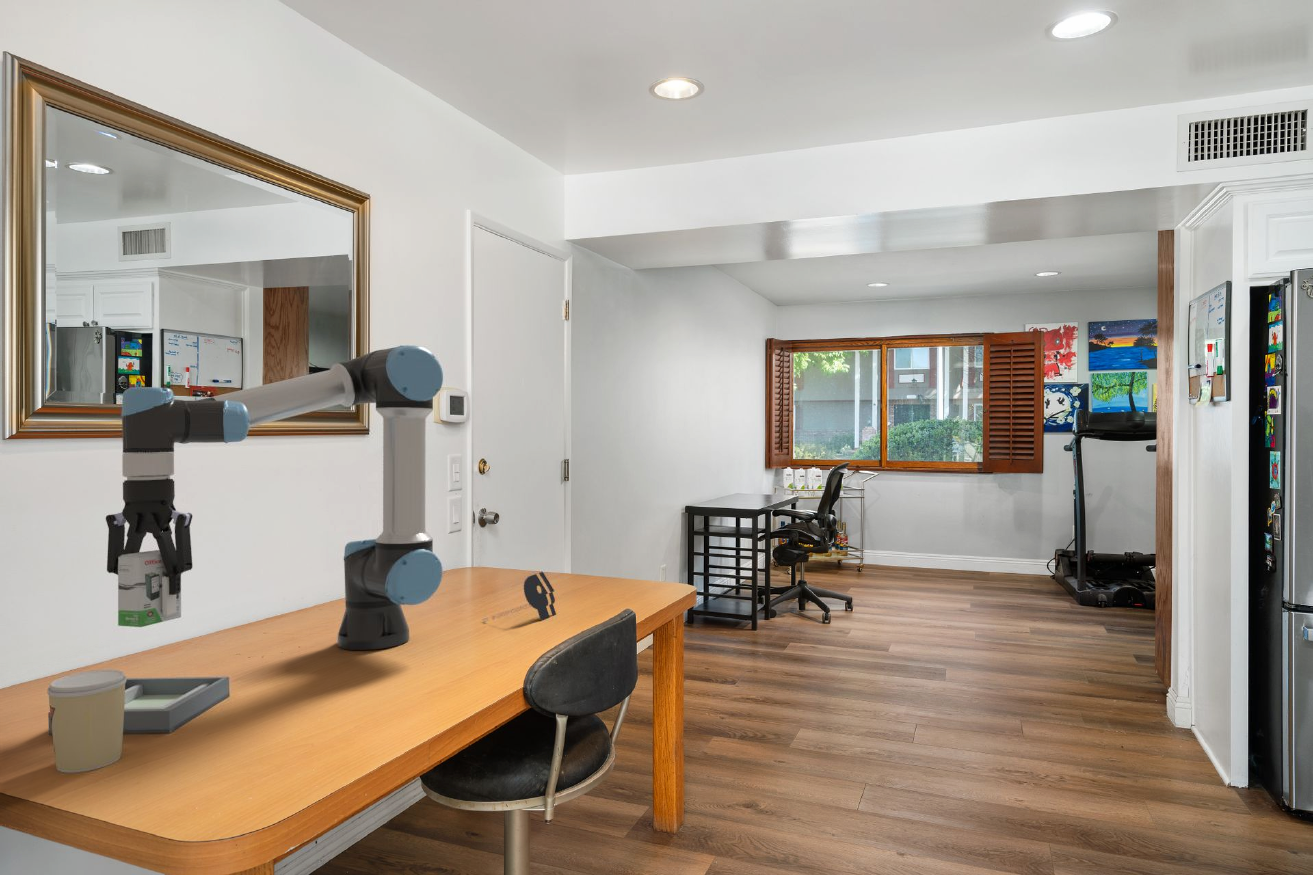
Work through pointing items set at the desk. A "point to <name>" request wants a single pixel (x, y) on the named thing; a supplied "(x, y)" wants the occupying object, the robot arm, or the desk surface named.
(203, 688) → the walled tray
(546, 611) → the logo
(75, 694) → the coffee cup
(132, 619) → the ink box
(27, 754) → the desk surface
